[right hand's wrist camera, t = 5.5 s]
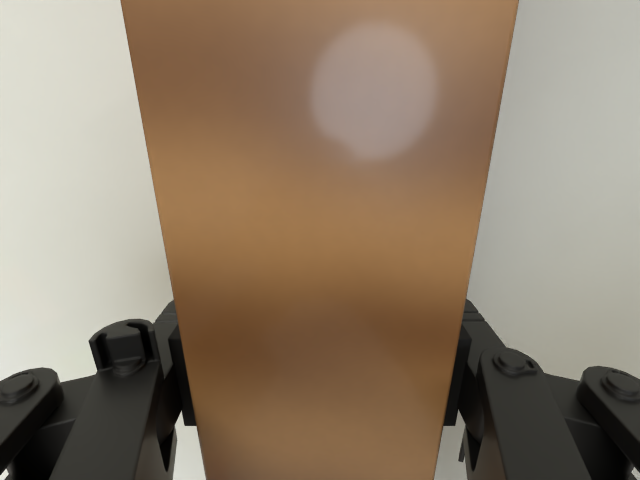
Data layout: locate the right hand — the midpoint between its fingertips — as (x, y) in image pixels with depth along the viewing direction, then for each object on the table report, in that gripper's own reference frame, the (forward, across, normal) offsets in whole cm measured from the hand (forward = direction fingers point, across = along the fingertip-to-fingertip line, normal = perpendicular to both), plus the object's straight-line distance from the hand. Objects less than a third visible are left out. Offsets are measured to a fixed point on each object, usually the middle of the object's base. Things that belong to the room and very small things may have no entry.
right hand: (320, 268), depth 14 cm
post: (+1, 0, -23) cm, 23 cm away
